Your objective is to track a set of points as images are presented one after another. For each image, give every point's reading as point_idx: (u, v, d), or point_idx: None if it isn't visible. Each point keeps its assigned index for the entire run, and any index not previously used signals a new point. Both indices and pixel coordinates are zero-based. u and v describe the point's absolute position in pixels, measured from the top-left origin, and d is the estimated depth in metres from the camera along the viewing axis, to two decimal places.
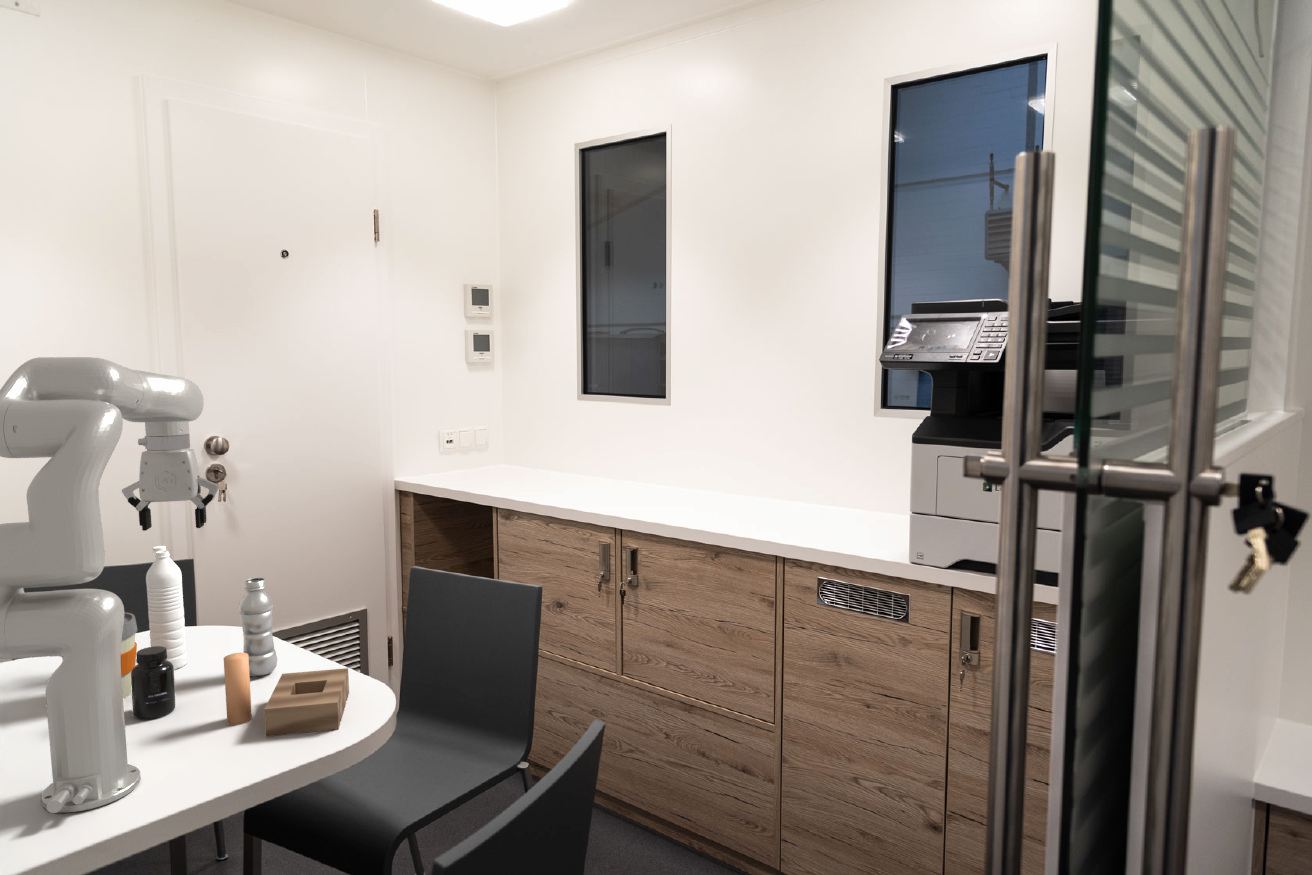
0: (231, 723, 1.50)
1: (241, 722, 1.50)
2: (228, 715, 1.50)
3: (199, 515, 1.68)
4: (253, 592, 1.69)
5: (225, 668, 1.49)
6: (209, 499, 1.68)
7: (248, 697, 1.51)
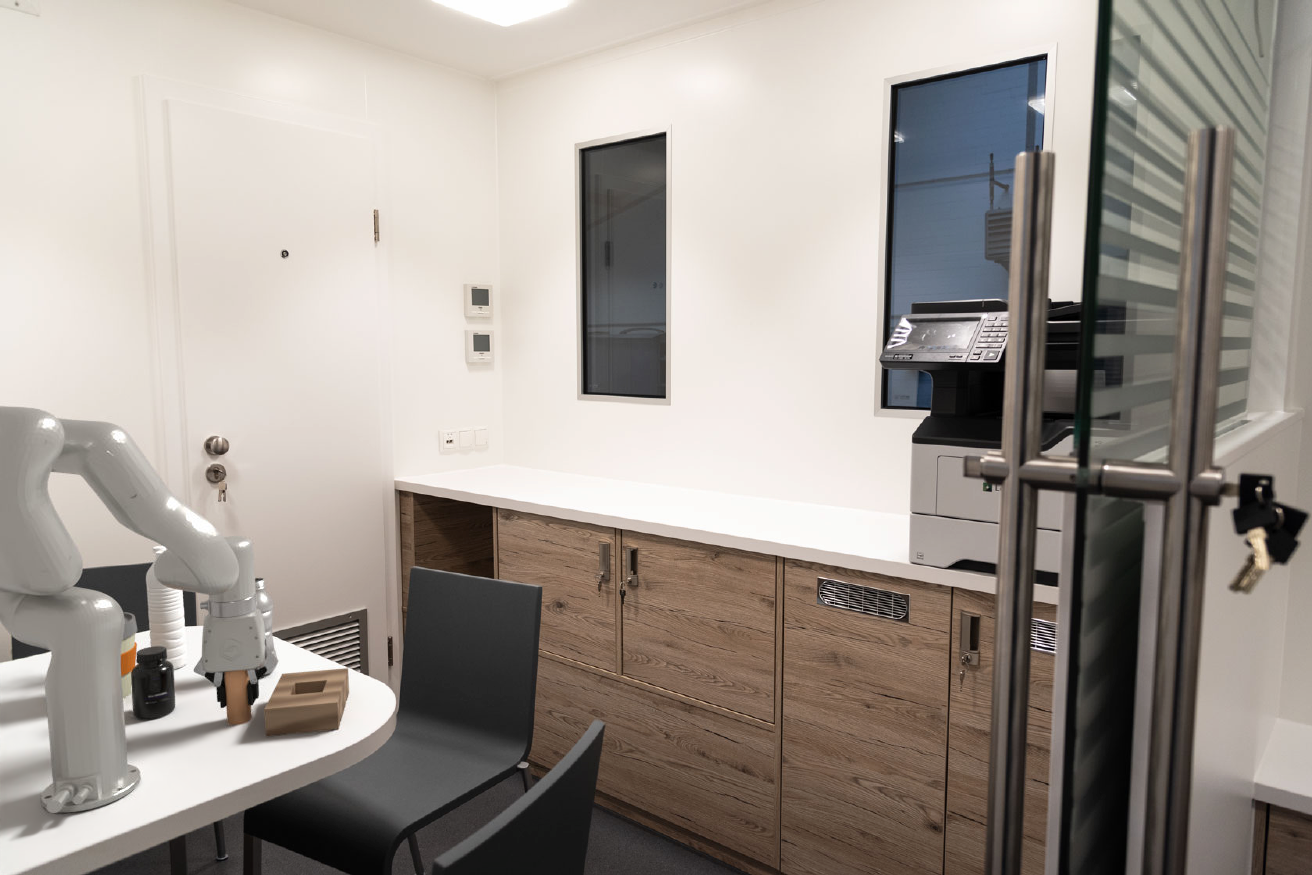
0: (231, 723, 1.50)
1: (241, 722, 1.50)
2: (228, 715, 1.50)
3: (252, 690, 1.51)
4: None
5: None
6: (263, 673, 1.51)
7: None
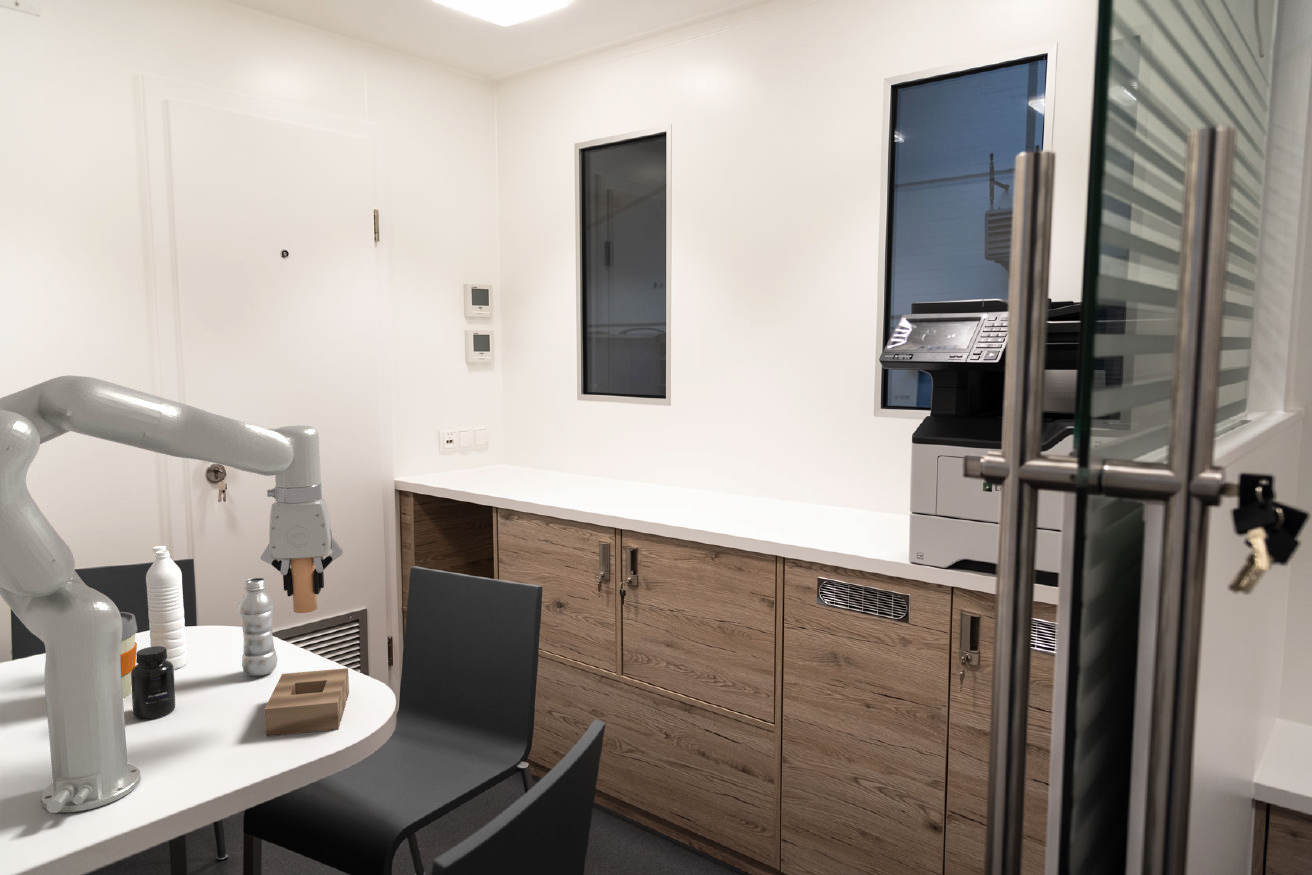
0: (298, 611, 1.51)
1: (308, 610, 1.51)
2: (295, 603, 1.51)
3: (318, 579, 1.52)
4: (253, 592, 1.69)
5: None
6: (328, 562, 1.52)
7: None
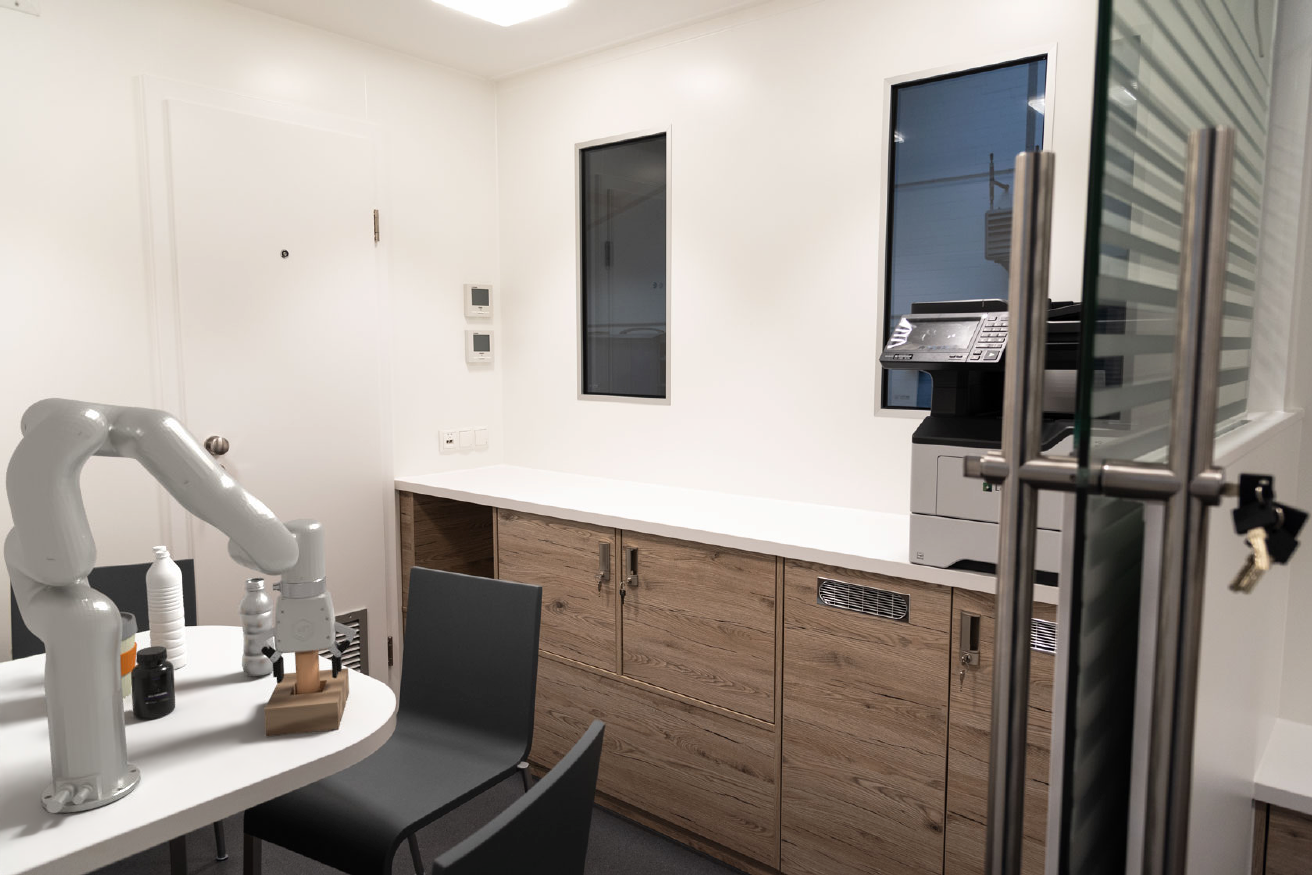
0: None
1: None
2: None
3: (336, 663, 1.54)
4: (253, 592, 1.69)
5: (297, 662, 1.52)
6: (346, 646, 1.54)
7: (318, 691, 1.54)
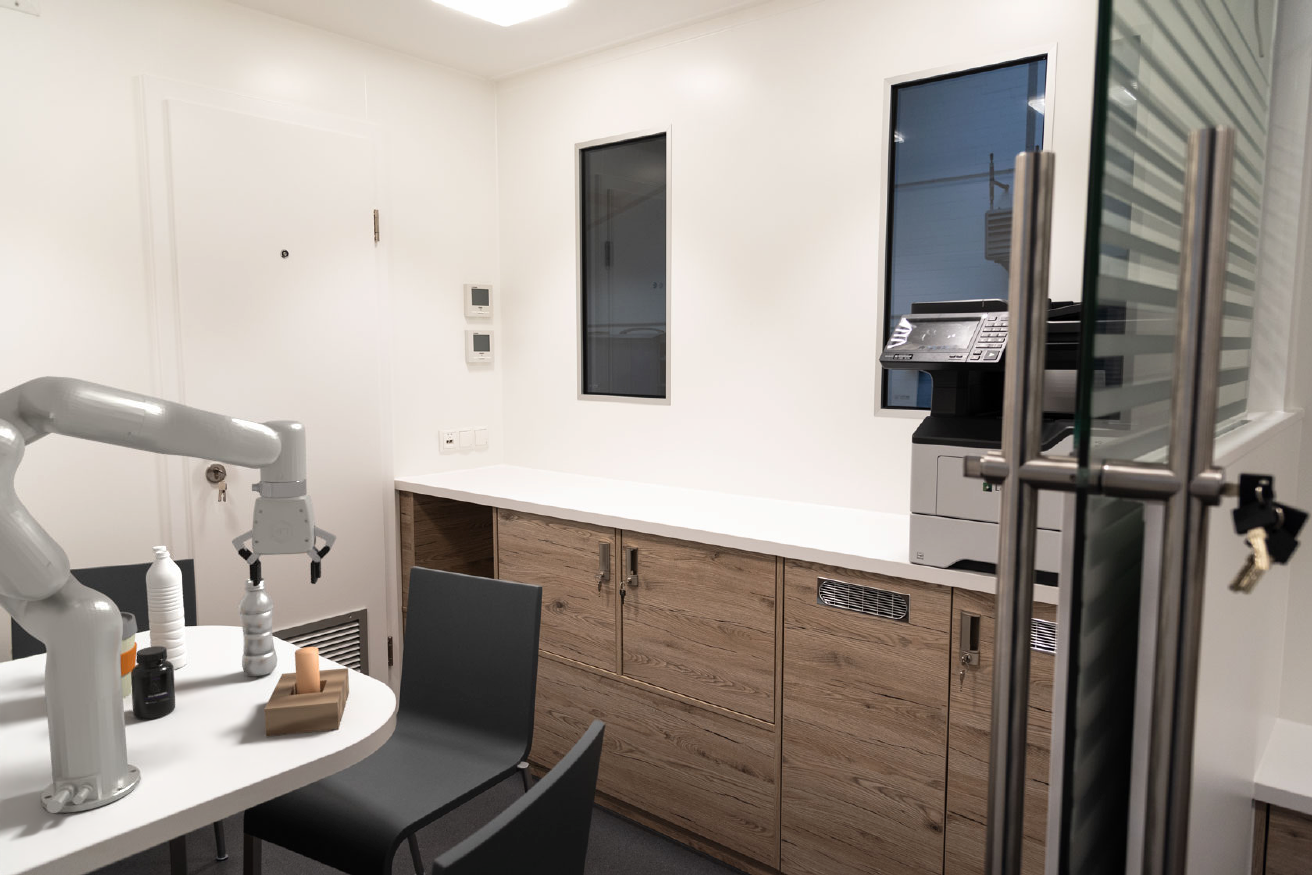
0: None
1: None
2: None
3: (315, 569, 1.51)
4: (253, 592, 1.69)
5: (296, 662, 1.52)
6: (326, 552, 1.51)
7: (318, 690, 1.54)
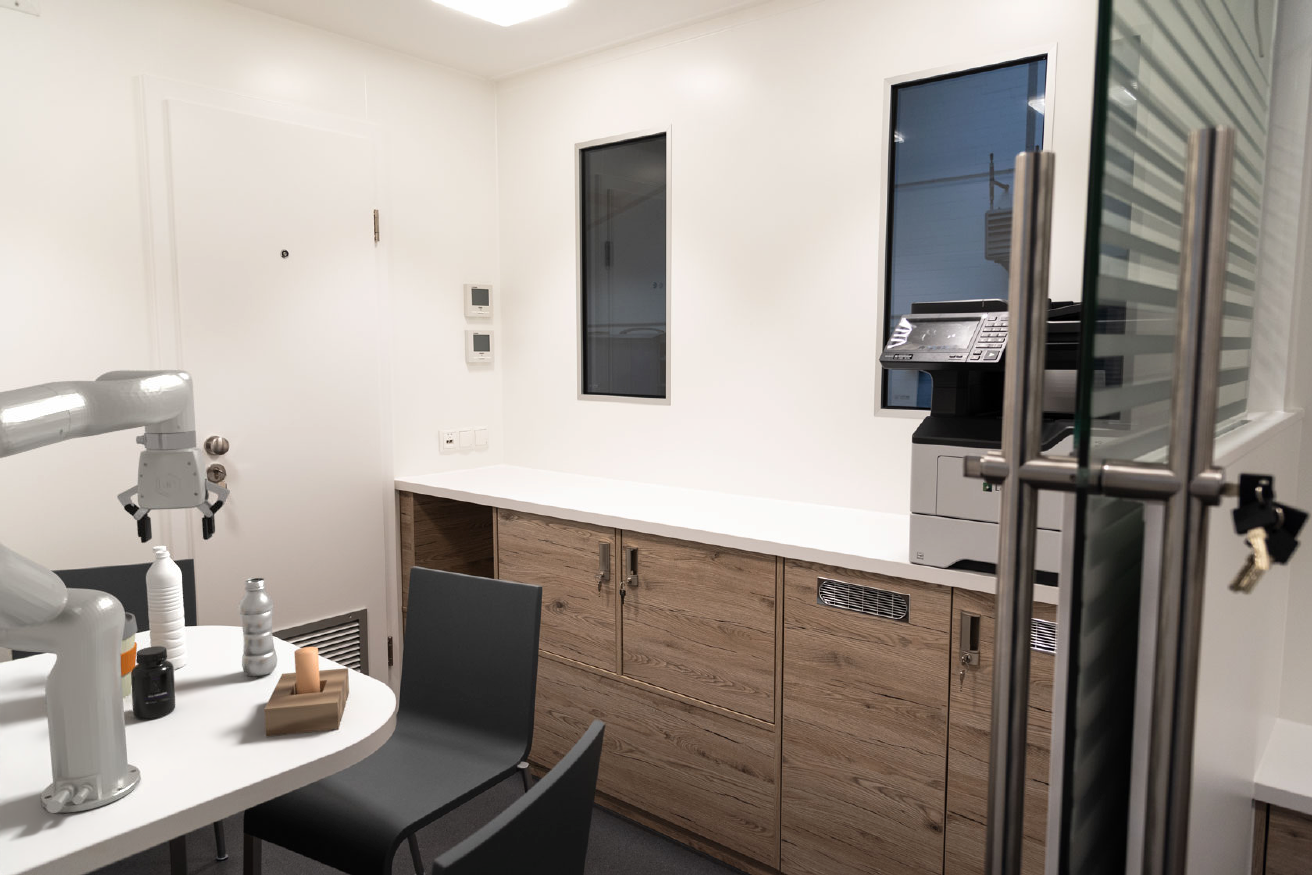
0: None
1: None
2: None
3: (207, 524, 1.45)
4: (253, 592, 1.69)
5: (296, 662, 1.52)
6: (218, 506, 1.45)
7: (318, 690, 1.54)
